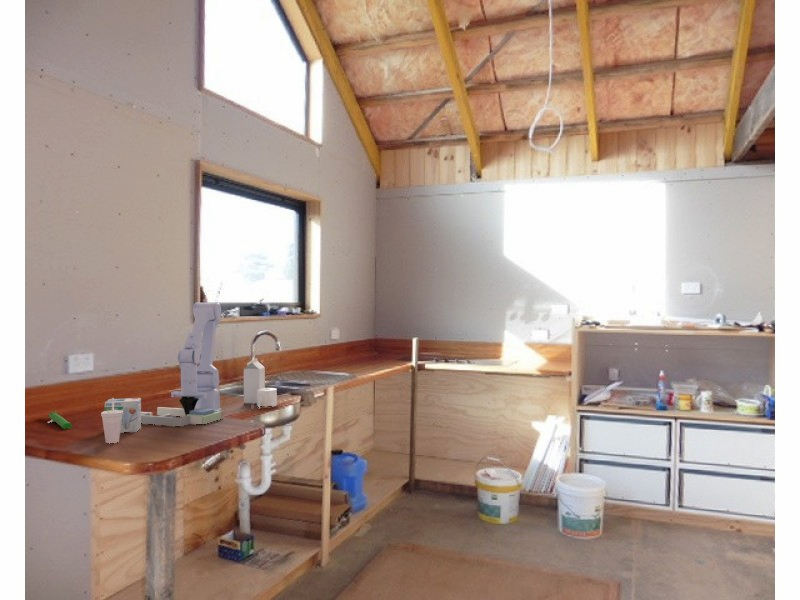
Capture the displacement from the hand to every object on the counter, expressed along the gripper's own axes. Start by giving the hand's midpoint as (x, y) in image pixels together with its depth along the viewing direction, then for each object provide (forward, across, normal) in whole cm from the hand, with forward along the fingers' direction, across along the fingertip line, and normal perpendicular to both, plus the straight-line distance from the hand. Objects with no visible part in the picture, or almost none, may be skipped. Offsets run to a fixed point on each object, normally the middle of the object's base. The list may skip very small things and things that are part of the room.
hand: (189, 417), depth 217 cm
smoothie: (+1, -2, -36) cm, 36 cm away
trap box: (+1, -4, -3) cm, 5 cm away
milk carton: (+2, +3, +40) cm, 41 cm away
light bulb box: (+1, -11, -21) cm, 24 cm away
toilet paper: (+2, +12, +33) cm, 35 cm away
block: (+1, +6, -1) cm, 7 cm away
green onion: (+2, -45, -18) cm, 48 cm away
